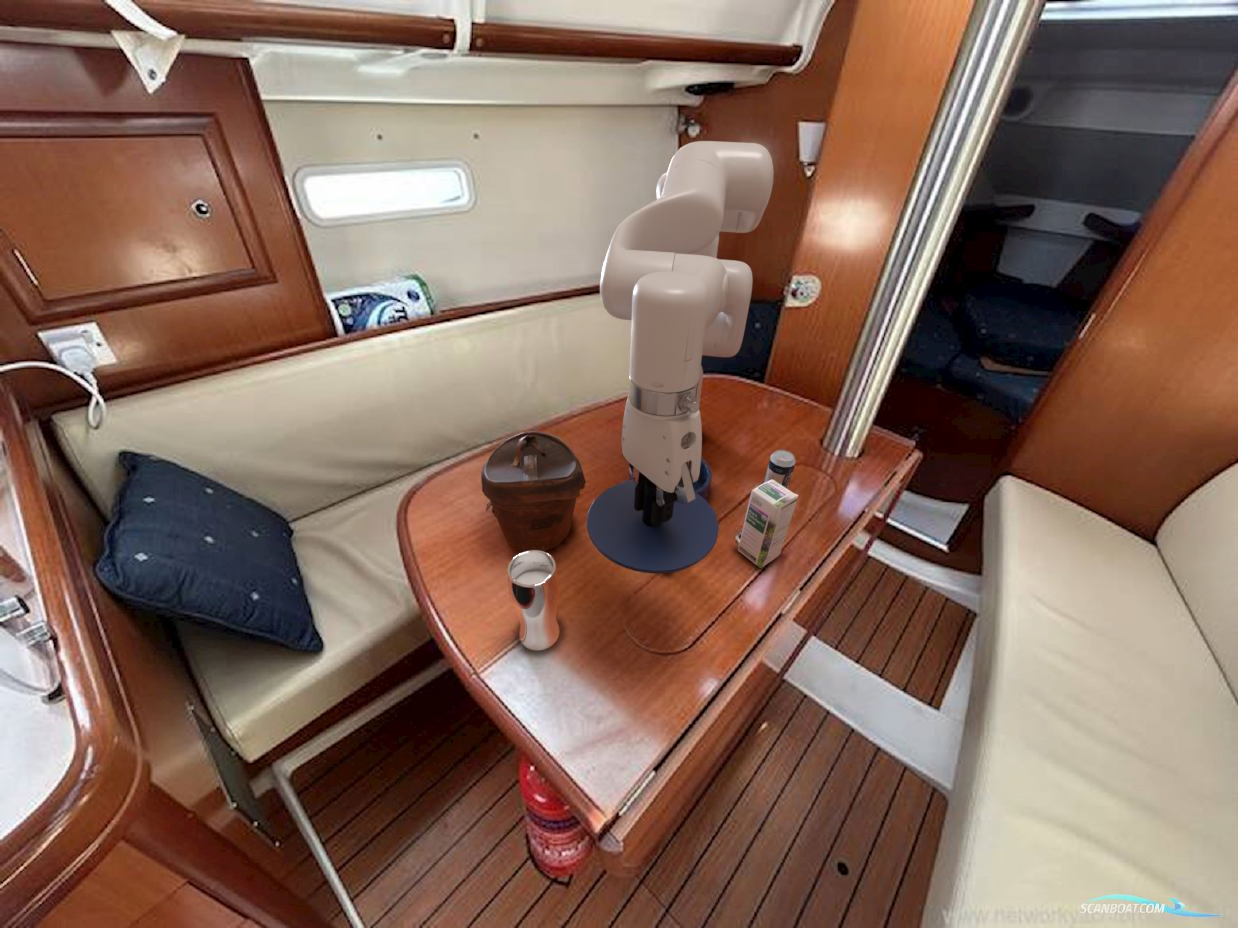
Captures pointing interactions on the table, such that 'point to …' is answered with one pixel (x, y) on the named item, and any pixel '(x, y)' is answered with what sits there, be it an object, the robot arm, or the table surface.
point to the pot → (702, 483)
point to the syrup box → (766, 522)
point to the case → (533, 489)
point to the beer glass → (535, 597)
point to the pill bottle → (780, 467)
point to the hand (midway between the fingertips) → (653, 512)
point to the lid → (650, 530)
